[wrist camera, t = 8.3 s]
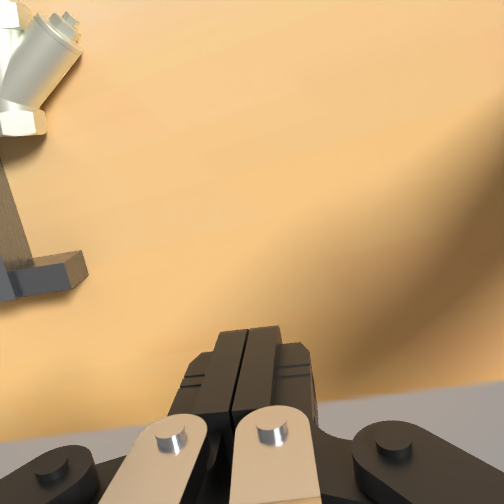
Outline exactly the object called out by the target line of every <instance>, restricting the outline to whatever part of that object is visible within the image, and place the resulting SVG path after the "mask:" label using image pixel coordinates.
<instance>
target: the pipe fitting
mask: <svg viewBox="0 0 504 504" xmlns="http://www.w3.org/2000/svg"><path fill="white" fill-rule="evenodd" d="M78 24H79V21H78V20H77V19H76V18H75V17H74V16H72V15H71V14H70V13H69V12H65V14H64V15H63V16H61V15H60V14H58V13H53V14H52V16H51V17H50V18H48V17H47V16H45V15H43V14H42V13H37V14H36V16H35V17H34V18H33V20H32V21H31V15H30V9H29V8H28V7H27V6H25V5H24V4H22V3H19V2H15V1H10V0H0V137H8V136H29V135H42V134H45V133H47V132H48V130H47V123H46V117H45V112H44V111H42V110H40V106H41V105H42V104H43V102H44V101H45V100H46V99H47V97H48V96H49V95H50V93H51V92H52V91H53V90H54V88H55V87H56V86H57V85H58V83H59V82H60V81H61V79H62V78H63V77H64V76H65V74H66V73H67V72H68V70H69V69H70V68H71V67H72V65H73V64H74V63H75V61H76V60H77V59H78V58H79V56H80V55H81V54H82V53H83V49H82V47H81V46H80V45H79V44H78V43H77V42H76V41H77V39H78V38H79V37H80V36H81V35H80V32H79V31H78V30H77V29H76V27H77V26H78Z"/></svg>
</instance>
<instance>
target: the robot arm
mask: <svg viewBox="0 0 504 504" xmlns="http://www.w3.org/2000/svg"><path fill="white" fill-rule="evenodd" d="M0 504H504V473H503V472H502V471H500V470H498V469H496V468H494V467H493V466H491V465H489V464H487V463H485V462H483V461H482V460H480V459H478V458H476V457H474V456H473V455H471V454H469V453H467V452H465V451H463V450H462V449H460V448H458V447H456V446H454V445H452V444H451V443H449V442H447V441H445V440H443V439H441V438H439V437H438V436H436V435H434V434H432V433H430V432H429V431H427V430H425V429H423V428H421V427H419V426H417V425H414V424H411V423H408V422H403V421H381V422H377V423H373V424H371V425H368V426H366V427H365V428H363V429H362V430H360V431H359V432H358V433H357V434H356V436H355V437H354V439H353V441H352V440H345V439H341V438H336V437H334V436H331V435H329V434H327V433H325V432H324V431H322V430H321V429H320V428H319V427H318V411H317V401H316V394H315V387H314V380H313V373H312V367H311V360H310V353H309V351H308V350H307V349H306V348H305V347H304V346H303V344H302V343H301V342H299V343H289V344H282V339H281V333H280V329H279V326H269V327H260V328H251V329H250V330H249V329H243V330H234V331H225V332H220V334H219V336H218V339H217V342H216V345H215V348H214V351H213V352H204V353H201V354H200V355H199V356H198V357H197V358H195V359H194V360H193V361H192V362H191V363H190V364H189V366H188V368H187V371H186V373H185V375H184V379H183V380H182V382H181V385H180V389H178V392H177V394H176V396H175V399H174V401H173V404H172V406H171V408H170V411H169V413H168V415H167V417H164V418H162V419H159V420H157V421H155V422H153V423H152V424H150V425H149V426H148V427H146V428H145V429H144V430H143V431H142V432H141V433H140V435H139V436H138V438H137V439H136V441H135V443H134V444H133V446H132V448H131V449H130V451H129V453H128V454H127V455H125V456H122V457H119V458H116V459H113V460H109V461H106V462H103V463H99V464H96V465H95V463H94V460H93V457H92V454H91V452H90V451H89V449H87V448H86V447H83V446H79V445H69V446H63V447H59V448H56V449H53V450H50V451H48V452H46V453H44V454H42V455H40V456H39V457H37V458H35V459H34V460H32V461H30V462H28V463H27V464H25V465H23V466H22V467H20V468H19V469H17V470H15V471H14V472H12V473H10V474H9V475H7V476H5V477H4V478H2V479H0Z"/></svg>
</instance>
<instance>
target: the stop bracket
mask: <svg viewBox="0 0 504 504" xmlns="http://www.w3.org/2000/svg"><path fill="white" fill-rule="evenodd" d="M88 275H89V274H88V271H87V267H86V264H85V261H84V257H83V254H82V250H80V251H74V252H68V253H62V254H56V255H50V256H44V257H38V258H32V255H31V252H30V248H29V245H28V242H27V239H26V236H25V233H24V230H23V227H22V224H21V221H20V218H19V215H18V212H17V209H16V205H15V202H14V199H13V196H12V193H11V190H10V187H9V184H8V181H7V178H6V175H5V172H4V169H3V166H2V162H1V159H0V302H4V301H11V300H16V299H18V298H19V297H23V296H30V295H36V294H43V293H49V292H56V291H62V290H69V289H72V288H74V287H75V286H76V285H77V284H78V283H80V282H81V281H82V280H83V279H84V278H86V277H87V276H88Z"/></svg>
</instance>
